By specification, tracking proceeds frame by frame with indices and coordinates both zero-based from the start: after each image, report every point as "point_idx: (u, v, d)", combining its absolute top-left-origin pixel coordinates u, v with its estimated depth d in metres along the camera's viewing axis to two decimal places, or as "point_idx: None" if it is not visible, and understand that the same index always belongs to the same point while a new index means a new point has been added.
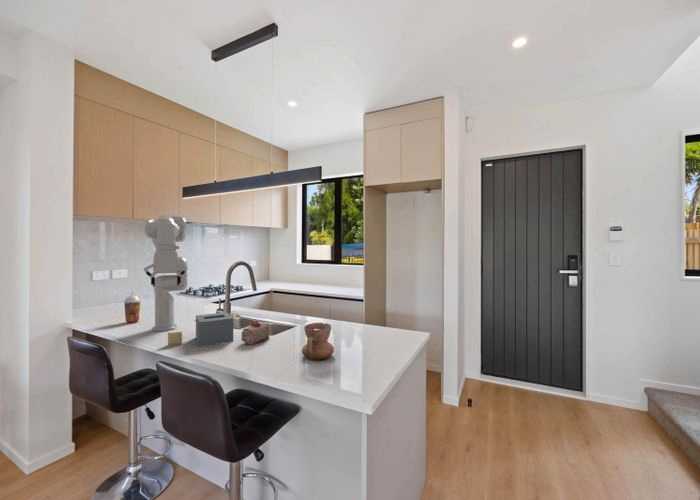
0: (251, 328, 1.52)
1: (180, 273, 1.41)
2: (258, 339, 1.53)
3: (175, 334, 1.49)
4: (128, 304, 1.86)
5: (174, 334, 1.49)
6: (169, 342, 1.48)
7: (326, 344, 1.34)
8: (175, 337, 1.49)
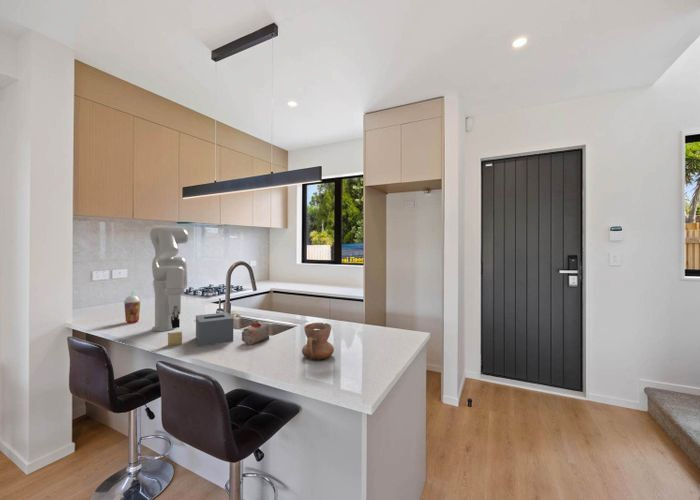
0: (251, 328, 1.52)
1: None
2: (258, 339, 1.53)
3: (175, 334, 1.49)
4: (128, 304, 1.86)
5: (174, 334, 1.49)
6: (169, 342, 1.48)
7: (326, 344, 1.34)
8: (175, 337, 1.49)
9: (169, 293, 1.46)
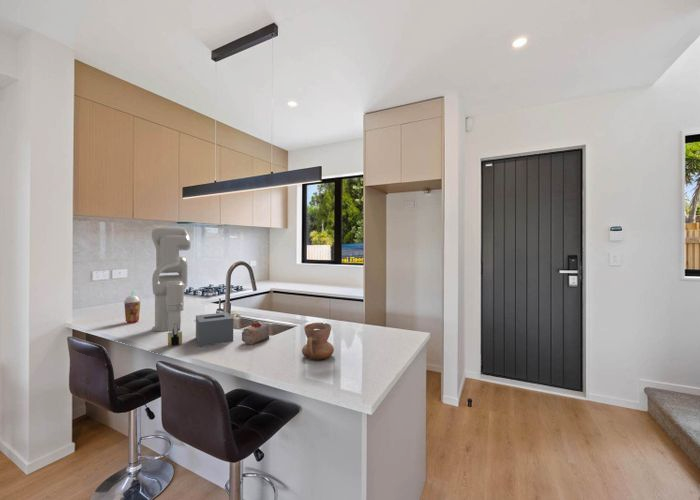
0: (251, 328, 1.52)
1: None
2: (258, 339, 1.53)
3: None
4: (128, 304, 1.86)
5: None
6: (169, 342, 1.48)
7: (326, 344, 1.34)
8: None
9: (169, 310, 1.46)
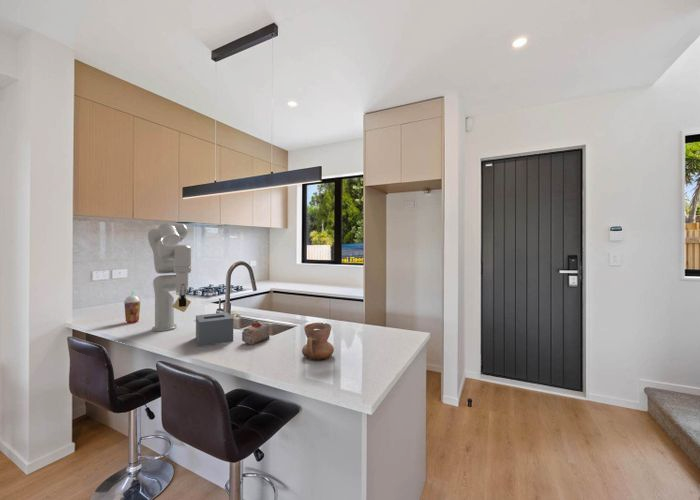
0: (252, 328, 1.52)
1: None
2: (258, 339, 1.54)
3: None
4: (128, 304, 1.86)
5: None
6: (175, 304, 1.49)
7: (326, 344, 1.34)
8: None
9: (176, 271, 1.47)
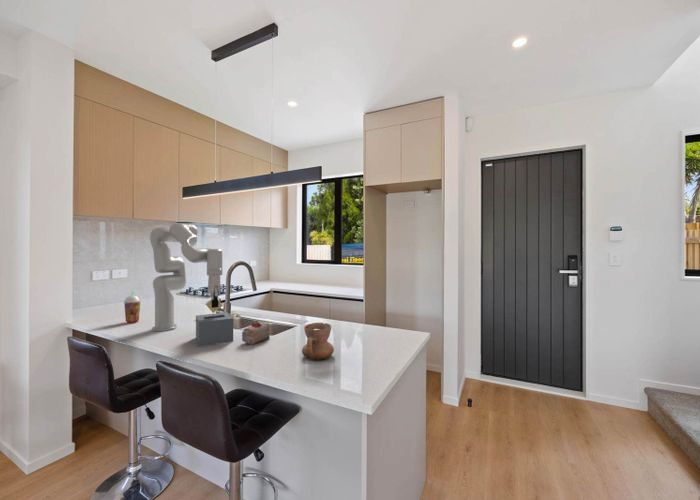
0: (252, 328, 1.52)
1: None
2: (259, 339, 1.54)
3: (218, 302, 1.58)
4: (128, 304, 1.86)
5: (218, 301, 1.58)
6: (209, 303, 1.56)
7: (326, 344, 1.34)
8: None
9: (210, 273, 1.54)
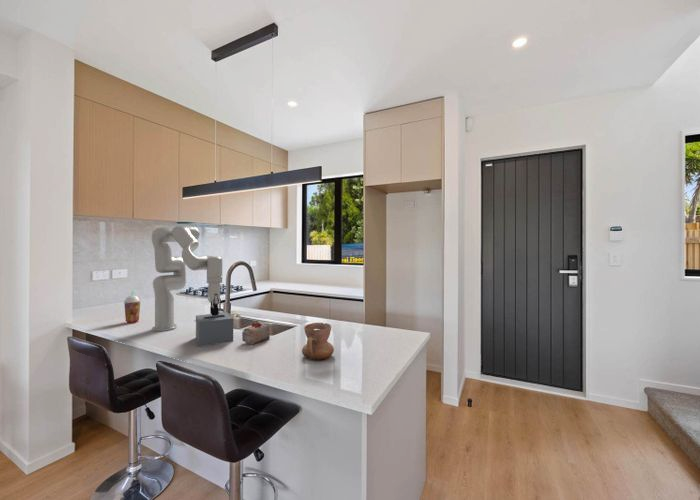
0: (252, 328, 1.52)
1: None
2: (259, 339, 1.54)
3: None
4: (128, 304, 1.86)
5: None
6: None
7: (326, 344, 1.34)
8: None
9: (210, 281, 1.55)
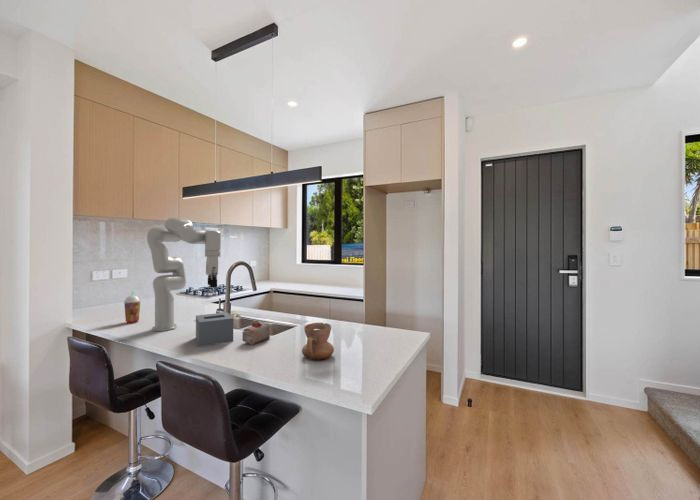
0: (252, 328, 1.52)
1: None
2: (259, 339, 1.54)
3: None
4: (128, 304, 1.86)
5: None
6: None
7: (326, 344, 1.34)
8: None
9: (208, 255, 1.55)
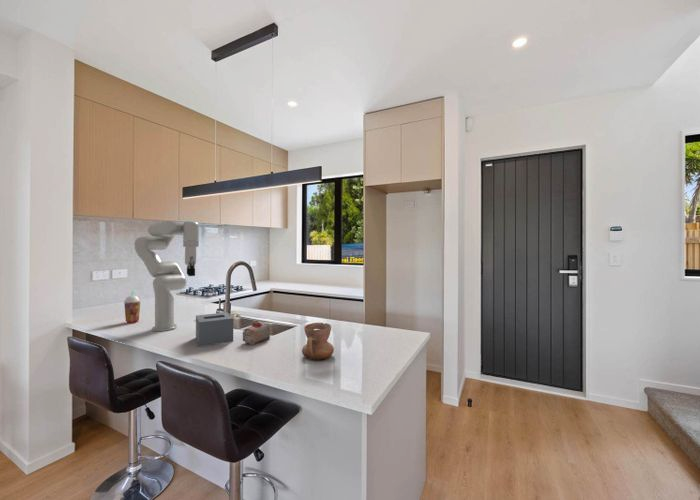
0: (252, 328, 1.52)
1: None
2: (259, 339, 1.54)
3: None
4: (128, 304, 1.86)
5: None
6: None
7: (326, 344, 1.34)
8: None
9: (186, 245, 1.61)
